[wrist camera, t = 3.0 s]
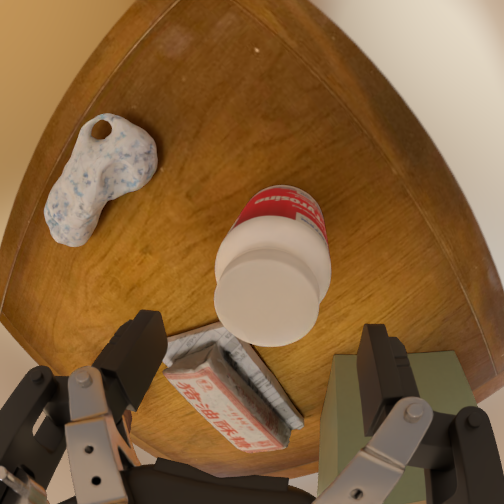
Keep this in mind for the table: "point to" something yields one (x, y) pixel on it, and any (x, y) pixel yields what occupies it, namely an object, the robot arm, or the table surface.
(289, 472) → the table surface
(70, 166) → the decorative stone
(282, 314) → the pill bottle
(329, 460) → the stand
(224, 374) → the packaged product
